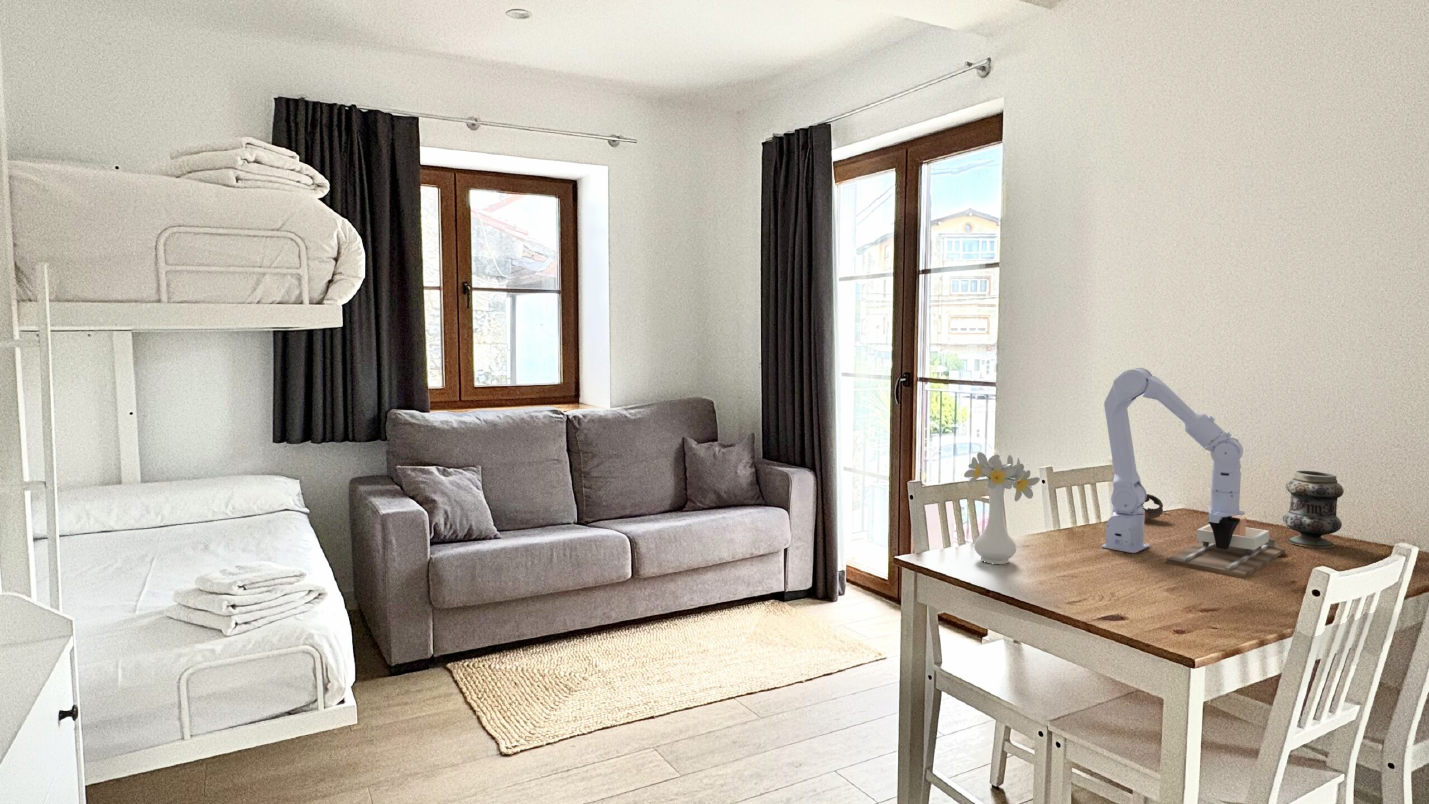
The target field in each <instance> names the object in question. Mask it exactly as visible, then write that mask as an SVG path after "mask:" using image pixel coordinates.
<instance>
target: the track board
mask: <svg viewBox="0 0 1429 804" xmlns="http://www.w3.org/2000/svg"><path fill="white" fill-rule="evenodd" d="M1285 552H1286V548H1284V547H1278V546H1276V539H1275V538H1270V537H1269V542H1267V543H1265V544H1263V545H1262V547H1261V549H1260V548H1257V549H1255V550H1252V553H1251V555H1250V554H1246V549H1245V548H1239V547H1233V546H1229V548H1228V549H1220V548H1217V547H1216V543H1210V542H1209V546H1208V547H1204V546H1203V541H1199V542H1197V543H1195V544H1194V545H1191V546H1190V547H1188V548H1185V549H1184V550H1181V551H1179V552H1177V553H1175V554H1173V555H1172V556H1169V557H1167V558H1166V560H1165V563H1166V564H1169V565H1174V566H1179V567H1185V568H1189V569H1194V570H1201V571H1205V572H1211V573H1216V574H1221V575H1226V576H1231V577H1237V578H1240V579H1241V578H1242V579H1246V578H1248V577H1249V576H1250V575H1253V573H1255V572H1257V571H1258V570H1261V568H1263V567H1264V566H1266V565H1268V564H1269V563H1271V562H1272V561H1275V560H1276V559H1277V558H1279V557H1280V556H1282V555H1283V554H1285ZM1281 554H1282V555H1281ZM1278 556H1279V557H1278Z"/></svg>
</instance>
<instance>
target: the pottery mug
mask: <svg viewBox="0 0 1429 804" xmlns="http://www.w3.org/2000/svg"><path fill="white" fill-rule="evenodd" d="M1150 500H1151V501H1152V502H1153V504H1155V505H1157V506H1158V507H1156V508H1151V507H1147V508H1145V507H1144V504H1145V503H1147V502H1149V501H1150ZM1142 507H1143V509H1144V510H1145V518H1144V523H1145V522H1146V521H1147V520H1149V521H1150V520H1154V519H1157V518H1160V517H1161V515H1162V514H1163V513H1164V509H1163V507H1164V504H1163V502H1162V500H1161V499H1159V498H1158V497H1157V496H1155V495H1152V494H1149V493H1147V497H1146V500H1145V502H1144V503H1143V504H1142Z"/></svg>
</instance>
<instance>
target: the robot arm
mask: <svg viewBox="0 0 1429 804" xmlns="http://www.w3.org/2000/svg"><path fill="white" fill-rule="evenodd" d="M1141 395H1142V397H1143V398H1146V399H1150V400H1155V401H1158V402H1159V403H1160V404H1162V405H1163V406H1164V407H1165V408H1167V410H1168V411H1170V412H1171V413H1172V414H1174V416H1176V417H1177V418H1179V420H1181V421H1182V422H1183V423H1184V432H1186V433H1187V434H1188V435H1189V436H1190V437H1191V438H1192V439H1193V440H1194V441H1195V442H1196V443H1198V444H1199V445H1200V446H1201V447H1202V448H1203V449H1204V450H1206V451H1208V452H1210V456H1211V459H1212V460H1213V465H1212V467H1213V468H1212V470H1211V484H1210V485H1211V487H1210V503H1209V504H1210V506H1209V508H1208V517H1207V522H1208V524H1210V526H1211V528H1212V530H1213V533H1214V538H1215V543H1216V547H1217V548H1220V549H1228V548H1229V545H1230V542H1231V538H1232V535H1233V533H1234V530H1235V528H1236V526H1237V525H1238V523H1239V522H1240V519H1239V518H1234V517H1232V516H1245V513H1246V512H1245V511H1244V510H1240V497H1241V496H1240V495H1241V493H1240V492H1241V481H1242V480H1241V477H1242V473H1241V468H1242V465H1241V460H1240V459H1242V457H1243V454H1244V448H1243V446H1242V443H1241V442H1240V441H1239V439H1237V438H1234V437H1232V434H1231V432H1229V431H1228V432H1225V430H1224V429H1222V428H1221V427H1220V426H1219V425H1218V424H1217V423H1216V422H1215V421H1216V418H1214V417H1213V416H1212V415H1209V416H1208V415H1207V414H1205V413H1196V412H1195V410H1193V409H1192V408H1191V407H1190V406H1189V405H1188V404H1186V402H1184V400H1183V399H1181V398H1180V397H1179V395H1177V394H1176V393H1175V392H1174V391H1173V390H1172V389H1171V388H1170V387H1169V386H1168V385H1167V384H1166V383H1165V382H1164V381H1162V380H1161V379H1160V378H1159V377H1157V376H1156V375H1153V374H1152V373H1151V371H1149V370H1148V369H1146V368H1143V367H1135V368H1133V369H1127V370H1124V371H1123V372H1121V373H1120V374H1119V375H1118V376H1117V377H1116V378H1115V379H1114V380H1113V382H1112V386H1111V388H1110V390H1109V392H1108V394H1107V396H1106V398H1105V400H1104V405H1103V406H1104V412H1105V419H1106V428H1107V432H1108V439H1109V446H1110V447H1109V448H1110V453H1111V458H1112V465H1113V466H1112V467H1113V473H1114V475H1113V480H1112V486H1113V490H1112V494H1111V496H1110V501H1111V505H1112V506H1113V507H1111V516H1110V517H1109V518H1108V519H1107V522H1106V528H1105V543H1104V544H1101V548H1105V549H1110V550H1115V551H1121V552H1125V553H1130V554H1131V553H1132V554H1136V553H1139V552H1140V551H1142V550H1145V549H1147V548H1149V547H1150V544H1148V543H1144V539H1145V538H1144V537H1145V535H1144V534H1145V522H1144V518H1145V510H1144V509H1143V508H1144V507H1142V504H1143V503H1144V504H1145V503H1146V502H1145V500H1146V497H1147V494H1148V493H1147V490H1146V489H1145V487H1144V485H1143V484H1142V482H1141V477H1140V474H1139V472H1138V471H1137V464H1136V458H1135V452H1134V446H1133V444H1134V443H1133V438H1132V431H1131V425H1130V419H1129V412H1128V410H1129V409H1128V408H1129V407H1130V406H1131V405H1132V404H1133V402H1134V401H1135V400H1136V399H1137V398H1138V397H1140V396H1141ZM1144 504H1143V505H1144Z"/></svg>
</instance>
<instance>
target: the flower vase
mask: <svg viewBox="0 0 1429 804" xmlns="http://www.w3.org/2000/svg"><path fill="white" fill-rule="evenodd" d="M968 468H969V469H968V470H966V471H965V472H964V473H963V476H964V478H966V479H967V478H968V479H969V478H970V479H969V481H968V482H967V483H968V484H967V486H968V487H970V486H972V485H973V484H974V483H975V482H976V481H977V480H978V479H980V478H984V477H986V478H988V479H987V480H986V484H987V487H988V493H989V506H988V507H989V510H988V519H987V524H986V526H985V529H984V531H983V532H982V533H981V534H980V535H978V537H977V538H976V539H975V542H974V547H973V548H974V551H975V553H977V555H978V556H980V560H981V562H983V561H985V562H987V563H986V564H988V563H993V564H992V565H994V564H1003V565H1007V564H1008V563H1009V562H1010V559H1011V558H1012V557H1014V555H1015V554H1016V553H1017V545H1016V542H1015V541H1014V540H1013V538H1012V537H1011V536H1010V535H1009V534H1008V532H1007V529H1006V526H1005V521H1004V495H1005V489H1007V490H1010V489H1012V488H1013V489H1015V494H1014V501H1015V502H1018V501H1019V500H1020V499H1021V497H1022V495H1024V496H1025V497H1026V498H1027V499H1032V498H1033V497H1034V492H1033V490H1032V486H1035V485H1037V484H1039V482H1040V481H1041V478H1040V477H1038V476H1035V477H1030V476H1031V470H1025V466H1024V464H1023V463H1021V462H1020V458H1019V457H1017V459H1016V463H1015V464H1014V459H1013V456H1012V455H1011V454H1009V455H1008V456H1007V459H1006V463H1003V462H1002V460H1001V458H1000V455H999V454H994V455H992V456H991V457H989V458H987V456H986V455H985V454H984V453H983V452H980V451H979V452H978V453H976V457H975V456H973V457H972V458H971V463H970V464H968ZM985 562H984V563H985ZM1006 563H1007V564H1006Z"/></svg>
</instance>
